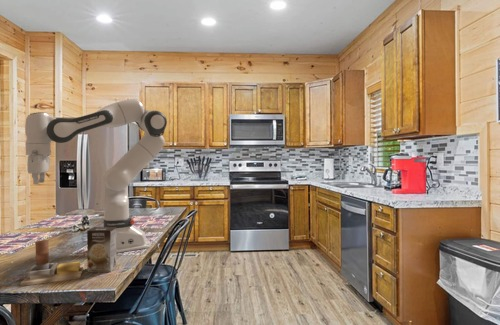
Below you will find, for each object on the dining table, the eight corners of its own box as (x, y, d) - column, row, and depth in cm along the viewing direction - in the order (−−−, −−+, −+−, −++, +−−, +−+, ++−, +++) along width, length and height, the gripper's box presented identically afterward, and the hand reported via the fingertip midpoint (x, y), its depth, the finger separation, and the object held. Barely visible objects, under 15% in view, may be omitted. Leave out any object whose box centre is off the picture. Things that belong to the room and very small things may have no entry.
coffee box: (86, 272, 122) (85, 230, 121) (94, 266, 128) (93, 226, 128) (111, 271, 122) (110, 230, 122) (117, 266, 128) (116, 226, 128)
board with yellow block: (84, 266, 129) (84, 257, 129) (80, 278, 116) (79, 268, 116) (31, 272, 122) (31, 263, 122) (20, 286, 109) (20, 275, 109)
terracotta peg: (50, 271, 120) (49, 239, 120) (47, 275, 116) (47, 242, 116) (37, 272, 119) (36, 240, 118) (34, 276, 115) (34, 243, 115)
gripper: (41, 150, 127) (42, 184, 127) (52, 151, 146) (52, 181, 146) (22, 150, 125) (23, 185, 125) (35, 151, 144) (36, 182, 144)
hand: (39, 183), depth 136 cm, fingers open, 8 cm apart
